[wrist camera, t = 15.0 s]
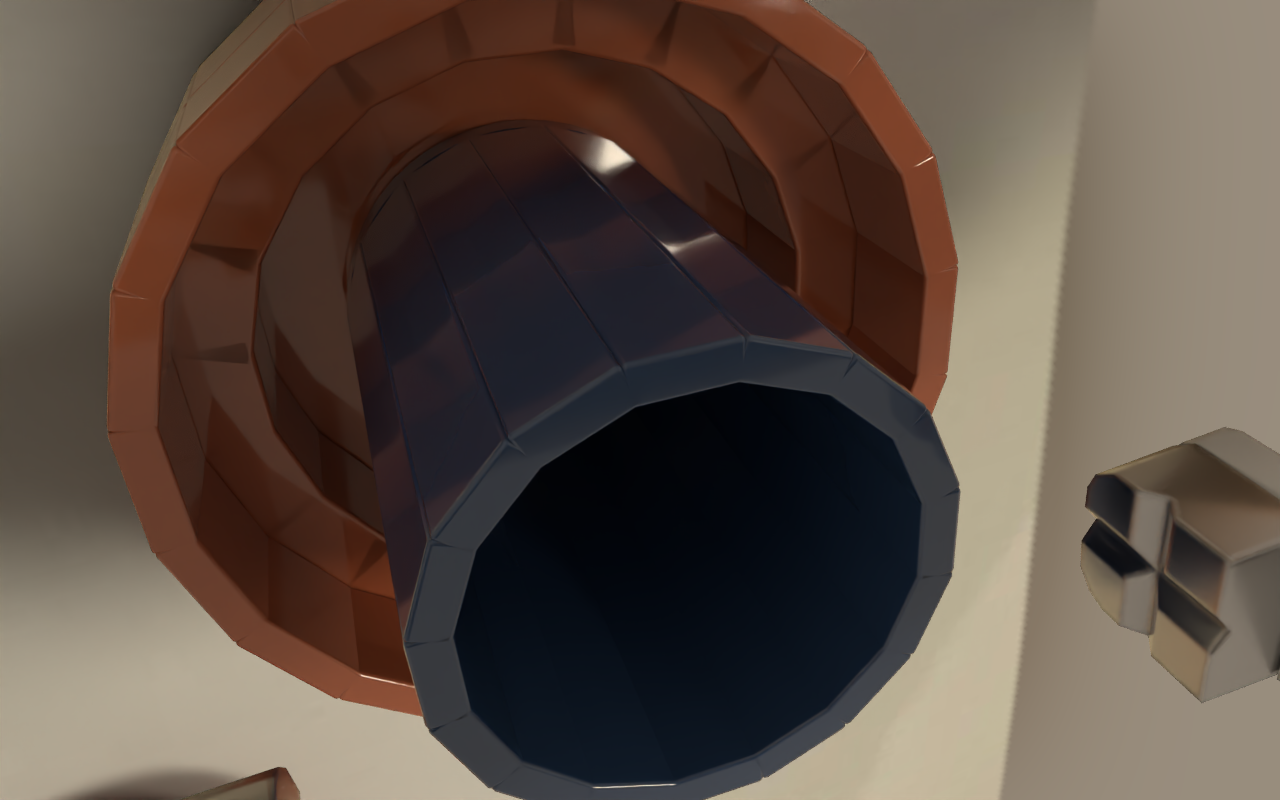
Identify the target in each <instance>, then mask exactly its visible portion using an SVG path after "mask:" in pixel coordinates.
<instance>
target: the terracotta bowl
mask: <svg viewBox="0 0 1280 800" xmlns="http://www.w3.org/2000/svg"><path fill="white" fill-rule="evenodd" d="M522 119H527V120H549V121H555V122H561V123H567V124H572V125H575V126H578V127H581V128H584V129H587V130H591V131H593V132H595V133H597V134H599V135H601V136H604V137H606V138H608V139H610V140H612V141H614V142H615V143H617V144H618V145H620V146H621V147H623V148H624V149H626V150H627V151H629V152H630V153H631V154H632V155H634V156H635V157H636V158H637V159H638V160H639V161H640V162H642V163H643V164H644V165H646V166H647V167H648V168H650V169H651V170H652V171H653V172H655V173H656V174H657V175H659V176H660V177H661V178H662V179H664V180H665V181H666V182H667V183H668V184H670V185H671V186H672V187H673V188H674V189H675V190H677V191H678V192H679V193H680V194H681V195H682V196H684V197H685V198H686V199H687V200H688V201H689V202H691V203H692V204H693V205H694V206H695V207H696V208H698V209H699V210H700V211H701V212H702V213H703V214H704V215H706V216H707V217H708V218H709V219H710V220H711V221H713V222H714V223H715V224H716V225H717V226H718V227H720V228H721V229H722V230H723V231H724V232H725V233H727V234H728V235H729V236H730V237H731V238H732V239H734V240H735V241H736V242H737V243H738V244H739V245H740V246H742V247H743V248H744V249H745V250H746V251H747V252H749V253H750V254H751V255H752V256H753V257H754V258H756V259H757V260H758V261H759V262H760V263H761V264H763V265H764V266H765V267H766V268H767V269H768V270H769V271H771V272H772V273H773V274H774V275H775V276H776V277H778V278H779V279H780V280H781V281H782V282H783V283H785V284H786V285H787V286H788V287H789V288H790V289H792V290H793V291H794V292H795V293H796V294H797V295H799V296H800V297H801V298H802V299H803V300H804V301H805V302H807V303H808V304H809V305H810V306H811V307H812V308H814V309H815V310H816V311H817V312H818V313H819V314H821V315H822V316H823V317H824V318H825V319H826V320H828V321H829V322H830V323H831V324H832V325H833V326H835V327H836V328H837V329H838V330H839V331H840V332H841V333H843V334H844V335H845V336H846V337H847V338H848V339H850V340H851V341H852V342H853V343H854V344H855V345H857V346H858V347H859V348H860V349H861V350H862V351H864V352H865V353H866V354H867V355H868V356H869V357H871V358H872V359H873V360H874V361H875V362H876V363H877V364H879V365H880V366H881V367H882V368H883V369H884V370H886V371H887V372H888V373H889V374H890V375H891V376H893V377H894V378H895V379H896V380H897V381H898V382H900V383H901V384H902V385H903V386H904V387H905V388H906V389H908V390H909V391H910V392H911V393H912V394H913V395H915V396H916V397H917V398H918V399H919V400H920V401H922V402H923V403H924V404H925V406H926V408H927V409H928V410H929V411H930V413H931V415H932V413H933V410H934V408H935V405H936V403H937V400H938V398H939V395H940V393H941V390H942V388H943V385H944V383H945V380H946V378H947V375H946V374H945V373H947V371H948V361H949V351H950V341H951V332H952V322H953V312H954V303H955V293H956V283H957V273H958V267H957V264H958V259H957V254H956V249H955V245H954V240H953V235H952V231H951V226H950V222H949V217H948V212H947V208H946V203H945V198H944V194H943V189H942V185H941V180H940V175H939V171H938V166H937V161H936V157H935V155H934V153H933V152H932V148H931V146H930V145H929V143H928V141H927V140H926V138H925V137H924V135H923V133H922V132H921V130H920V129H919V127H918V126H917V124H916V122H915V121H914V119H913V118H912V116H911V115H910V113H909V111H908V110H907V108H906V107H905V105H904V104H903V102H902V100H901V99H900V97H899V96H898V94H897V92H896V91H895V89H894V88H893V86H892V85H891V83H890V81H889V80H888V78H887V77H886V75H885V74H884V72H883V70H882V69H881V67H880V66H879V64H878V62H877V61H876V59H875V58H874V56H873V55H872V53H871V52H870V51H868V50H867V49H866V47H865V45H864V44H863V43H861V42H860V41H858V40H857V39H856V38H854V37H853V36H852V35H850V34H849V33H848V32H846V31H845V30H843V29H842V28H841V27H839V26H838V25H837V24H835V23H834V22H833V21H831V20H830V19H828V18H827V17H826V16H824V15H823V14H822V13H820V12H819V11H818V10H816V9H815V8H813V7H812V6H811V5H809V4H808V3H807V2H805V1H804V0H263V1H262V2H261V3H260V4H259V5H258V6H257V7H256V8H255V9H254V11H253V12H252V13H251V14H250V15H249V16H248V17H247V18H246V19H245V20H244V21H243V22H242V23H241V24H240V25H239V26H238V27H237V28H236V29H235V30H234V31H233V32H232V33H231V34H230V35H229V36H228V37H227V38H226V39H225V40H224V41H223V42H222V43H221V44H220V45H219V47H218V48H217V49H216V50H215V51H214V52H213V53H212V54H211V55H210V56H209V57H208V58H207V59H206V60H205V61H204V62H203V63H202V64H201V65H200V66H199V68H198V71H197V73H195V74H194V75H193V77H192V79H191V81H190V83H189V86H188V88H187V90H186V93H185V95H184V97H183V100H182V102H181V104H180V107H179V109H178V111H177V114H176V116H175V118H174V120H173V123H172V125H171V127H170V130H169V132H168V134H167V137H166V139H165V141H164V144H163V146H162V148H161V151H160V153H159V155H158V157H157V160H156V162H155V164H154V167H153V169H152V171H151V174H150V176H149V178H148V181H147V183H146V186H145V189H144V192H143V195H142V198H141V201H140V204H139V207H138V209H137V212H136V215H135V218H134V221H133V225H132V227H131V230H130V233H129V236H128V239H127V241H126V244H125V247H124V250H123V253H122V256H121V259H120V262H119V265H118V268H117V270H116V273H115V276H114V279H113V282H112V289H111V292H110V303H109V342H108V381H107V419H106V426H107V428H108V433H107V436H108V439H109V441H110V444H111V447H112V449H113V452H114V454H115V457H116V460H117V462H118V465H119V467H120V470H121V473H122V475H123V478H124V481H125V483H126V486H127V488H128V491H129V494H130V496H131V499H132V501H133V504H134V507H135V509H136V512H137V514H138V517H139V520H140V522H141V525H142V527H143V530H144V533H145V535H146V538H147V540H148V543H149V546H150V548H151V551H152V552H153V553H155V554H156V557H157V558H158V559H159V560H160V561H161V562H162V563H163V565H164V566H165V567H166V568H167V569H168V570H169V571H170V572H171V573H172V574H173V576H174V577H175V578H176V579H177V580H178V581H179V582H180V583H181V584H182V585H183V586H184V588H185V589H186V590H187V591H188V592H189V593H190V594H191V595H192V596H193V597H194V599H195V600H196V601H197V602H198V603H199V604H200V605H201V606H202V607H203V608H204V609H205V611H206V612H207V613H208V614H209V615H210V616H211V617H212V618H213V619H214V620H215V622H216V623H217V624H218V625H219V626H220V627H221V628H222V629H223V630H224V631H225V632H226V634H227V635H228V636H229V637H230V638H231V639H232V640H233V641H235V642H236V644H237V645H238V646H239V647H241V648H243V649H245V650H247V651H249V652H250V653H252V654H254V655H256V656H258V657H260V658H262V659H263V660H265V661H267V662H269V663H271V664H273V665H275V666H276V667H278V668H280V669H282V670H284V671H286V672H287V673H289V674H291V675H293V676H295V677H297V678H299V679H300V680H302V681H304V682H306V683H308V684H310V685H311V686H313V687H315V688H317V689H319V690H321V691H323V692H324V693H326V694H328V695H330V696H332V697H334V698H336V699H337V698H340V699H342V700H345V701H350V702H355V703H359V704H364V705H369V706H374V707H378V708H383V709H388V710H393V711H398V712H402V713H407V714H412V715H417V716H422V717H423V715H422V712H421V708H420V704H419V701H418V697H417V694H416V690H415V687H414V683H413V680H412V676H411V672H410V669H409V665H408V662H407V658H406V655H405V651H404V647H403V642H402V636H401V630H400V625H399V619H398V613H397V607H396V601H395V595H394V589H393V583H392V577H391V571H390V566H389V560H388V554H387V548H386V542H385V536H384V530H383V524H382V518H381V512H380V507H379V501H378V495H377V489H376V483H375V477H374V471H373V465H372V459H371V453H370V448H369V442H368V436H367V430H366V424H365V418H364V412H363V406H362V400H361V394H360V389H359V383H358V377H357V371H356V365H355V359H354V353H353V347H352V341H351V335H350V330H349V324H348V318H347V304H348V278H349V269H350V262H351V258H352V254H353V251H354V247H355V243H356V240H357V238H358V235H359V233H360V230H361V228H362V226H363V223H364V221H365V219H366V217H367V216H368V214H369V212H370V210H371V209H372V207H373V205H374V204H375V202H376V200H377V199H378V198H379V196H380V195H381V194H382V192H383V191H384V190H385V189H386V187H387V186H388V185H389V184H390V182H391V181H392V180H393V179H394V178H395V177H396V176H397V175H398V174H399V173H400V172H401V171H402V170H403V169H404V168H405V167H407V166H408V165H409V164H410V163H411V162H412V161H414V160H415V159H416V158H418V157H419V156H420V155H422V154H423V153H425V152H426V151H427V150H429V149H430V148H432V147H434V146H435V145H437V144H439V143H441V142H443V141H445V140H446V139H448V138H450V137H452V136H455V135H457V134H460V133H462V132H465V131H468V130H470V129H473V128H476V127H480V126H484V125H488V124H492V123H496V122H503V121H512V120H522Z"/></svg>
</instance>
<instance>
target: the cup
mask: <svg viewBox="0 0 1280 800" xmlns="http://www.w3.org/2000/svg"><path fill="white" fill-rule="evenodd" d="M347 318H348V324H349V330H350V335H351V341H352V347H353V353H354V359H355V365H356V371H357V377H358V383H359V389H360V394H361V400H362V406H363V412H364V418H365V424H366V430H367V436H368V442H369V448H370V453H371V459H372V465H373V471H374V477H375V483H376V489H377V495H378V501H379V507H380V512H381V518H382V524H383V530H384V536H385V542H386V548H387V554H388V560H389V566H390V571H391V577H392V583H393V589H394V595H395V601H396V607H397V613H398V619H399V625H400V630H401V636H402V642H403V647H404V651H405V655H406V658H407V662H408V665H409V669H410V672H411V676H412V680H413V683H414V687H415V690H416V694H417V697H418V701H419V704H420V708H421V712H422V715H423V719H424V722H425V725H426V726H427V728H428V729H429V733H430V734H431V735H432V736H434V737H435V738H436V739H437V740H438V741H439V742H440V743H441V744H442V745H443V746H444V747H445V748H446V749H447V750H448V751H450V752H451V753H452V754H453V755H454V756H455V757H456V758H457V759H458V760H459V761H460V762H461V763H462V764H463V765H465V766H466V767H467V768H468V769H469V770H470V771H471V772H472V773H473V774H474V775H475V776H476V777H477V778H478V779H479V780H481V781H482V782H483V783H484V784H485V785H486V786H487V787H488V788H492V789H493V790H494V791H496V792H500V793H503V794H506V795H509V796H513V797H516V798H519V799H523V800H705V799H708V798H711V797H714V796H717V795H720V794H723V793H726V792H729V791H732V790H734V789H737V788H740V787H743V786H746V785H749V784H752V783H755V782H758V781H760V780H761V779H762V778H763V777H764V778H766V777H769V776H770V775H772V774H773V773H775V772H776V771H778V770H779V769H781V768H783V767H784V766H786V765H787V764H789V763H790V762H792V761H793V760H795V759H796V758H798V757H800V756H801V755H803V754H804V753H806V752H807V751H809V750H810V749H812V748H813V747H815V746H817V745H818V744H820V743H821V742H823V741H824V740H826V739H827V738H829V737H831V736H832V735H834V734H835V733H837V732H838V731H840V730H841V729H843V728H844V727H845V724H848V723H850V722H851V721H852V720H853V719H854V718H855V717H856V716H857V715H858V713H859V712H860V711H861V710H862V709H863V708H864V707H865V706H866V705H867V704H868V703H869V702H870V700H871V699H872V698H873V697H874V696H875V695H876V694H877V693H878V692H879V691H880V690H881V689H882V687H883V686H884V685H885V684H886V683H887V682H888V681H889V680H890V679H891V678H892V677H893V676H894V675H895V673H896V672H897V671H898V670H899V669H900V668H901V667H902V666H903V665H904V664H905V663H906V662H907V660H908V659H909V658H910V656H911V655H910V654H913V653H914V652H915V650H916V648H917V646H918V644H919V642H920V640H921V638H922V636H923V634H924V632H925V630H926V628H927V626H928V624H929V622H930V620H931V617H932V615H933V613H934V611H935V609H936V607H937V605H938V603H939V601H940V599H941V597H942V595H943V593H944V591H945V589H946V587H947V585H948V583H949V581H950V579H951V577H952V570H953V568H954V557H955V545H956V534H957V523H958V512H959V501H960V489H959V481H958V479H957V476H956V474H955V471H954V469H953V466H952V464H951V462H950V459H949V457H948V454H947V452H946V449H945V447H944V444H943V442H942V439H941V437H940V435H939V432H938V430H937V427H936V425H935V422H934V420H933V417H932V415H931V413H930V411H929V410H928V409H927V408H926V406H925V404H924V403H923V402H922V401H920V400H919V399H918V398H917V397H916V396H915V395H913V394H912V393H911V392H910V391H909V390H908V389H906V388H905V387H904V386H903V385H902V384H901V383H900V382H898V381H897V380H896V379H895V378H894V377H893V376H891V375H890V374H889V373H888V372H887V371H886V370H884V369H883V368H882V367H881V366H880V365H879V364H877V363H876V362H875V361H874V360H873V359H872V358H871V357H869V356H868V355H867V354H866V353H865V352H864V351H862V350H861V349H860V348H859V347H858V346H857V345H855V344H854V343H853V342H852V341H851V340H850V339H848V338H847V337H846V336H845V335H844V334H843V333H841V332H840V331H839V330H838V329H837V328H836V327H835V326H833V325H832V324H831V323H830V322H829V321H828V320H826V319H825V318H824V317H823V316H822V315H821V314H819V313H818V312H817V311H816V310H815V309H814V308H812V307H811V306H810V305H809V304H808V303H807V302H805V301H804V300H803V299H802V298H801V297H800V296H799V295H797V294H796V293H795V292H794V291H793V290H792V289H790V288H789V287H788V286H787V285H786V284H785V283H783V282H782V281H781V280H780V279H779V278H778V277H776V276H775V275H774V274H773V273H772V272H771V271H769V270H768V269H767V268H766V267H765V266H764V265H763V264H761V263H760V262H759V261H758V260H757V259H756V258H754V257H753V256H752V255H751V254H750V253H749V252H747V251H746V250H745V249H744V248H743V247H742V246H740V245H739V244H738V243H737V242H736V241H735V240H734V239H732V238H731V237H730V236H729V235H728V234H727V233H725V232H724V231H723V230H722V229H721V228H720V227H718V226H717V225H716V224H715V223H714V222H713V221H711V220H710V219H709V218H708V217H707V216H706V215H704V214H703V213H702V212H701V211H700V210H699V209H698V208H696V207H695V206H694V205H693V204H692V203H691V202H689V201H688V200H687V199H686V198H685V197H684V196H682V195H681V194H680V193H679V192H678V191H677V190H675V189H674V188H673V187H672V186H671V185H670V184H668V183H667V182H666V181H665V180H664V179H662V178H661V177H660V176H659V175H657V174H656V173H655V172H653V171H652V170H651V169H650V168H648V167H647V166H646V165H644V164H643V163H642V162H640V161H639V160H638V159H637V158H636V157H635V156H634V155H632V154H631V153H630V152H629V151H627V150H626V149H624V148H623V147H621V146H620V145H618V144H617V143H615V142H614V141H612V140H610V139H608V138H606V137H604V136H601V135H599V134H597V133H595V132H593V131H591V130H587V129H584V128H581V127H578V126H575V125H572V124H567V123H561V122H555V121H549V120H527V119H522V120H512V121H503V122H496V123H492V124H488V125H484V126H480V127H476V128H473V129H470V130H468V131H465V132H462V133H460V134H457V135H455V136H452V137H450V138H448V139H446V140H445V141H443V142H441V143H439V144H437V145H435V146H434V147H432V148H430V149H429V150H427V151H426V152H425V153H423V154H422V155H420V156H419V157H418V158H416V159H415V160H414V161H412V162H411V163H410V164H409V165H408V166H407V167H405V168H404V169H403V170H402V171H401V172H400V173H399V174H398V175H397V176H396V177H395V178H394V179H393V180H392V181H391V182H390V184H389V185H388V186H387V187H386V189H385V190H384V191H383V192H382V194H381V195H380V196H379V198H378V199H377V200H376V202H375V204H374V205H373V207H372V209H371V210H370V212H369V214H368V216H367V217H366V219H365V221H364V223H363V226H362V228H361V230H360V233H359V235H358V238H357V240H356V243H355V247H354V251H353V254H352V258H351V262H350V269H349V278H348V304H347Z"/></svg>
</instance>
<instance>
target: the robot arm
mask: <svg viewBox="0 0 1280 800" xmlns="http://www.w3.org/2000/svg"><path fill="white" fill-rule="evenodd" d="M1085 507H1086V508H1087V509H1088V510H1089V512H1090V513H1091V514H1092V515H1093V516H1094V517H1095V518H1096V520H1095V522H1094V523H1093V524H1092V526H1091V527H1090V529H1089V530H1088V532H1087V533H1086V535H1085V536H1084V538H1083V540H1082V544H1081V569H1082V572H1083V574H1084V577H1085V580H1086V583H1087V586H1088V589H1089V591H1090V592H1091V594H1092V596H1093V597H1094V599H1095V600H1096V601H1097V603H1098V604H1099V606H1100V607H1101V609H1102V610H1103V611H1104V612H1105V613H1106V614H1107V615H1108V616H1110V617H1111V618H1112V619H1113V620H1114V621H1115V622H1116V623H1117V624H1118V625H1119V626H1121V627H1124V628H1127V629H1130V630H1133V631H1136V632H1139V633H1142V634H1145V635H1148V638H1149V644H1150V651H1151V656H1152V657H1153V658H1154V659H1155V660H1156V661H1157V662H1158V663H1159V664H1160V665H1161V666H1163V668H1165V669H1166V670H1167V671H1168V672H1169V673H1170V674H1171V675H1172V676H1173V677H1174V678H1175V679H1176V680H1177V681H1179V682H1180V683H1181V684H1182V685H1183V686H1184V687H1185V688H1186V689H1187V690H1188V691H1189V692H1190V693H1192V694H1193V695H1194V696H1195V697H1196V698H1197V699H1198V700H1199V701H1200V702H1201V703H1203V702H1206V701H1209V700H1211V699H1214V698H1216V697H1219V696H1222V695H1224V694H1227V693H1230V692H1232V691H1235V690H1238V689H1240V688H1243V687H1246V686H1248V685H1251V684H1253V683H1256V682H1258V681H1261V680H1264V679H1267V678H1269V677H1272V676H1275V675H1277V674H1278V677H1277V680H1279V681H1280V454H1278V453H1277V452H1275V451H1274V450H1272V449H1270V448H1269V447H1267V446H1265V445H1264V444H1262V443H1261V442H1259V441H1257V440H1256V439H1254V438H1252V437H1251V436H1249V435H1247V434H1246V433H1244V432H1242V431H1239V430H1235V429H1231V428H1226V427H1224V428H1221V429H1218V430H1215V431H1213V432H1210V433H1207V434H1205V435H1202V436H1199V437H1196V438H1194V439H1191V440H1188V441H1185V442H1183V443H1181V444H1180V445H1176V446H1172V447H1169V448H1166V449H1163V450H1161V451H1158V452H1155V453H1153V454H1150V455H1147V456H1144V457H1142V458H1139V459H1137V460H1134V461H1131V462H1129V463H1126V464H1123V465H1120V466H1117V467H1115V468H1112V469H1109V470H1107V471H1104V472H1101V473H1099V474H1096V475H1095V476H1094V478H1093V479H1092V481H1091V483H1090V484H1089V486H1088V487H1087V495H1086V504H1085ZM180 800H300V791H299V790H298V788H297V786H296V785H295V783H294V781H293V779H292V778H291V776H290V774H289V773H288V771H287V769H286V768H282V767H277V768H274V769H271V770H268V771H265V772H262V773H258V774H255V775H252V776H249V777H246V778H243V779H240V780H237V781H234V782H231V783H228V784H225V785H222V786H219V787H216V788H213V789H210V790H207V791H204V792H201V793H198V794H195V795H192V796H189V797H186V798H183V799H180Z"/></svg>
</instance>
